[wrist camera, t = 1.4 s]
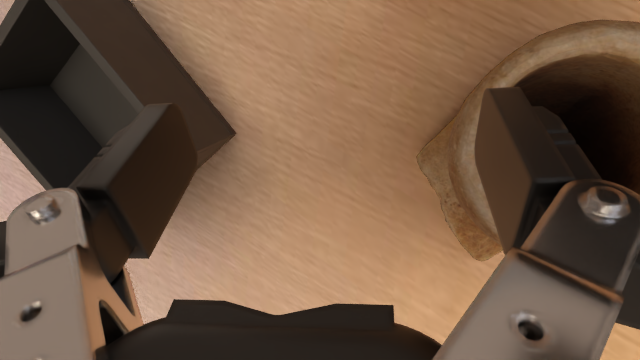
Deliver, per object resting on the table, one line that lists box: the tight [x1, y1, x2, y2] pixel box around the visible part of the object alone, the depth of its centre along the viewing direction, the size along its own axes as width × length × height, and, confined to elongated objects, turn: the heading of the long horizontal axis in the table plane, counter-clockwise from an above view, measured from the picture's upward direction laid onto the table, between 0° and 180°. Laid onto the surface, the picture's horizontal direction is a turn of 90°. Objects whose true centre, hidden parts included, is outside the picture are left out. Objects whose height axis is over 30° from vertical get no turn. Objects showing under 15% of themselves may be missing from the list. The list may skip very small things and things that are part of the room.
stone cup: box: [417, 20, 640, 261], centre depth 22 cm, size 15×12×15 cm
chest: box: [0, 0, 236, 191], centre depth 33 cm, size 16×13×8 cm
